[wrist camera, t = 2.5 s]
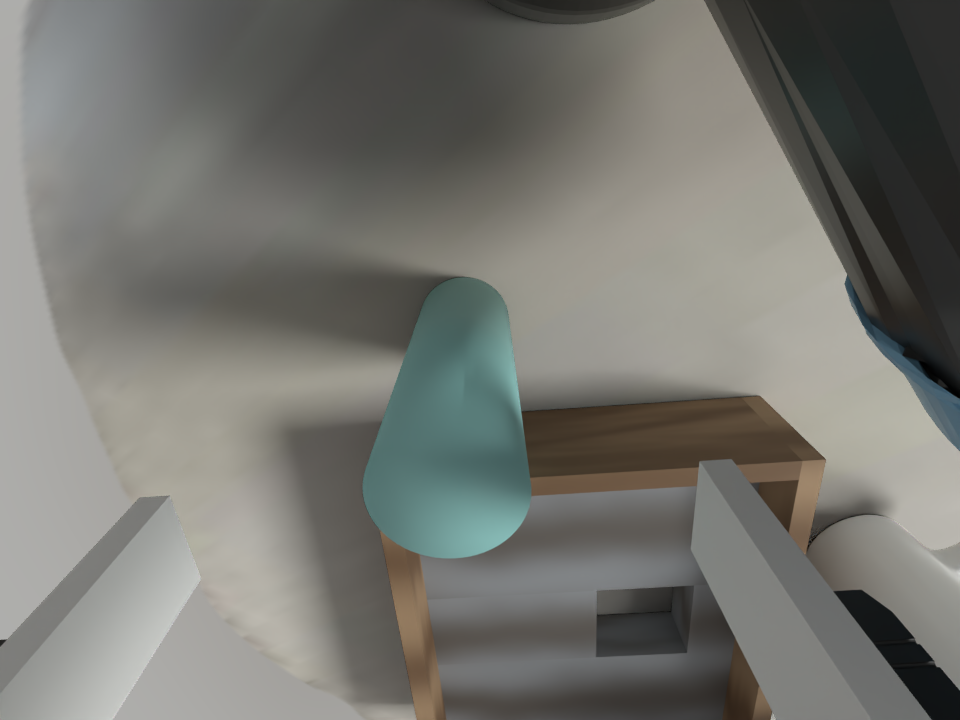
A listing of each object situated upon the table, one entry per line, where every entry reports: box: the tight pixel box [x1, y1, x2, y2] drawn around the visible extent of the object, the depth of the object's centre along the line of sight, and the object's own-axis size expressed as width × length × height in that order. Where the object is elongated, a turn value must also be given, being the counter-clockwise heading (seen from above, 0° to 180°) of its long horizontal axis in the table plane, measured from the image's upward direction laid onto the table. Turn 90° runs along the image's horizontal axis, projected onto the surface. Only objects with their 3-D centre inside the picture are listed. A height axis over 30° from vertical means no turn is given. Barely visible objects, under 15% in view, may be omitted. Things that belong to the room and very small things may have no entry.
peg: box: [363, 277, 531, 558], centre depth 21 cm, size 4×4×14 cm
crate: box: [380, 396, 826, 720], centre depth 31 cm, size 24×20×6 cm
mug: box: [806, 515, 960, 690], centre depth 27 cm, size 10×7×12 cm, turn 136°
